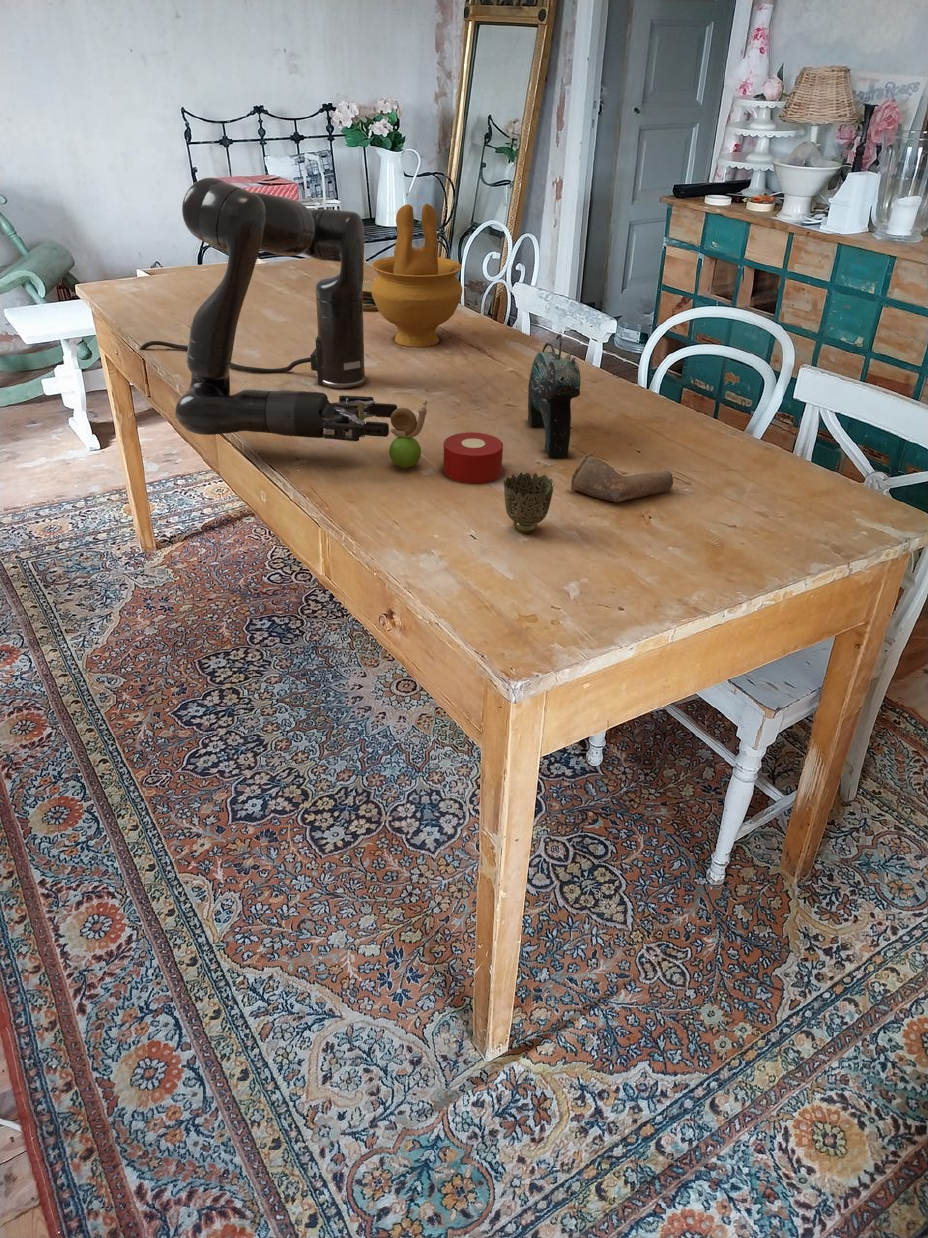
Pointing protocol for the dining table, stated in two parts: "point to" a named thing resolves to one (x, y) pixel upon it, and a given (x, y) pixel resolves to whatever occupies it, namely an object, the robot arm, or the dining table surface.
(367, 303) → the toy sandwich meal
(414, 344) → the decorative bowl
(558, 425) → the ceramic cat
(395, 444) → the snail figurine
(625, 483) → the pipe
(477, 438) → the cheese
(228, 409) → the robot arm
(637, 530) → the dining table surface
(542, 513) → the cup
